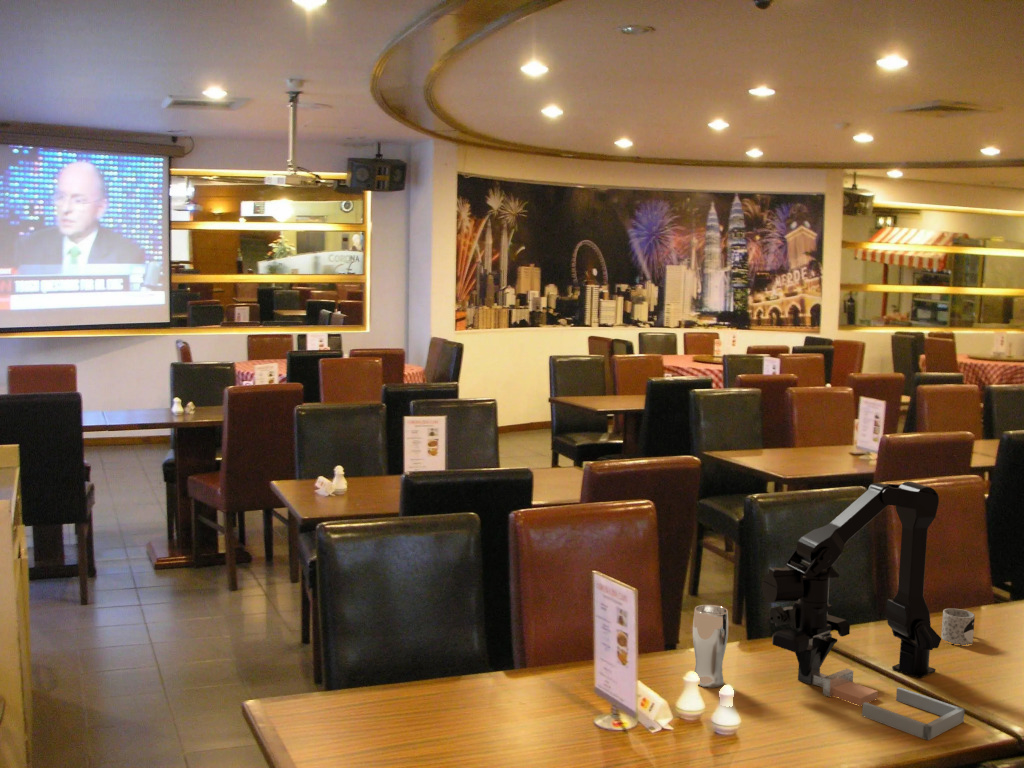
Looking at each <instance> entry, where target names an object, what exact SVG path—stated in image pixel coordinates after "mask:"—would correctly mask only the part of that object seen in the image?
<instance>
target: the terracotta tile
mask: <svg viewBox="0 0 1024 768" xmlns="http://www.w3.org/2000/svg"><path fill="white" fill-rule="evenodd" d="M878 693H879V692H878V690H876V689H873V688H871V687H867V686H865V685H862V684H859V683H856V682H854V681H853V682H851V681H850V682H847V683H845V684H842V685H840V686H838V687H835V688H833V695H832V696H835V697H839V698H840V699H843V700H846V701H849V702H851V703H854V704H857V705H859V706H860V707H862V706H861V705H863V703H865V702H867V703H868V702H870V701H872V702H874V701H876V700H875V699H877V700H878ZM832 696H831V697H832ZM835 697H834V698H835ZM840 699H839V700H840ZM843 700H842V701H843ZM873 700H874V701H873ZM846 701H845V702H846ZM851 703H850V704H851ZM870 703H871V702H870ZM854 704H853V705H854ZM859 706H858V707H859Z"/></svg>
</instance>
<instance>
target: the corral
mask: <svg viewBox="0 0 1024 768" xmlns="http://www.w3.org/2000/svg"><path fill="white" fill-rule="evenodd" d="M895 694H896V695H895V696H896V697H895V701H897V702H900V703H903V704H906V705H908V706H911V707H914V708H916V709H917V708H918V709H920V710H923V711H926V712H929V713H931V714H934V715H936V716H940V717H937V718H935V719H934V720H932V721H930V722H928V723H924V722H921V721H919V720H916V719H913V718H911V717H908V716H906V715H902V714H900V713H897V712H894V711H891V710H889V709H886V708H883V707H881V706H877V705H875V704H872V703H867V702H865V703H863V706H862V713H861V714H862V715H861V716H862V717H864V716H865V718H866V719H869V720H872V721H875V722H878V723H881V724H882V725H886V726H888V727H891V728H894V729H896V730H899V731H902V732H904V733H907V734H910V735H913V736H914V737H917V738H920V739H923V740H926V741H930V740H932V739H934V738H936V737H937V736H939V735H942V734H943V733H945V732H947V731H949V730H952V729H953V728H955V727H956V726H959V725H960V724H962V723H964V722H965V710H966V709H965V708H963V707H960V706H956V705H954V704H953V705H952V704H950V703H947V702H944V701H941V700H938V699H936V698H932V697H930V696H927V695H924V694H920V693H917V692H915V691H912V690H909V689H905V688H903V687H897V688H896V693H895Z"/></svg>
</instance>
